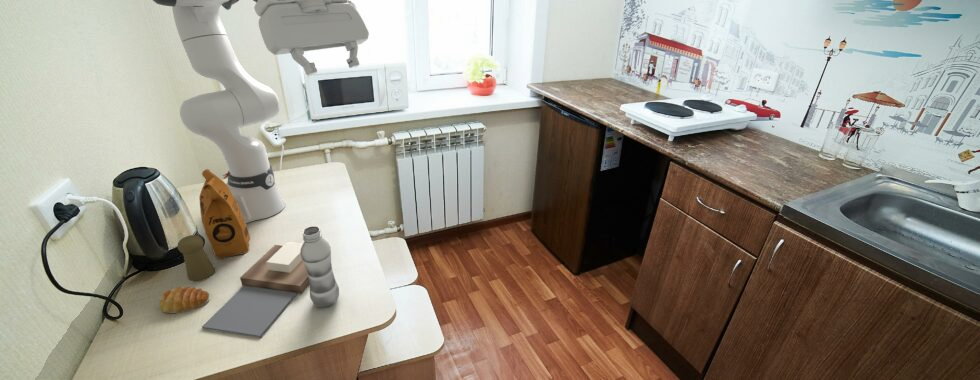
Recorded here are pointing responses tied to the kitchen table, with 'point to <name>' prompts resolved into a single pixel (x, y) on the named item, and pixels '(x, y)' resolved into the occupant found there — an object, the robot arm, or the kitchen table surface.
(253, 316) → the mat
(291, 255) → the tile
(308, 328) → the kitchen table surface
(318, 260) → the plastic bottle
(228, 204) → the coffee package
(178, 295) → the pastry
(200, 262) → the cork
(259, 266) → the stand
